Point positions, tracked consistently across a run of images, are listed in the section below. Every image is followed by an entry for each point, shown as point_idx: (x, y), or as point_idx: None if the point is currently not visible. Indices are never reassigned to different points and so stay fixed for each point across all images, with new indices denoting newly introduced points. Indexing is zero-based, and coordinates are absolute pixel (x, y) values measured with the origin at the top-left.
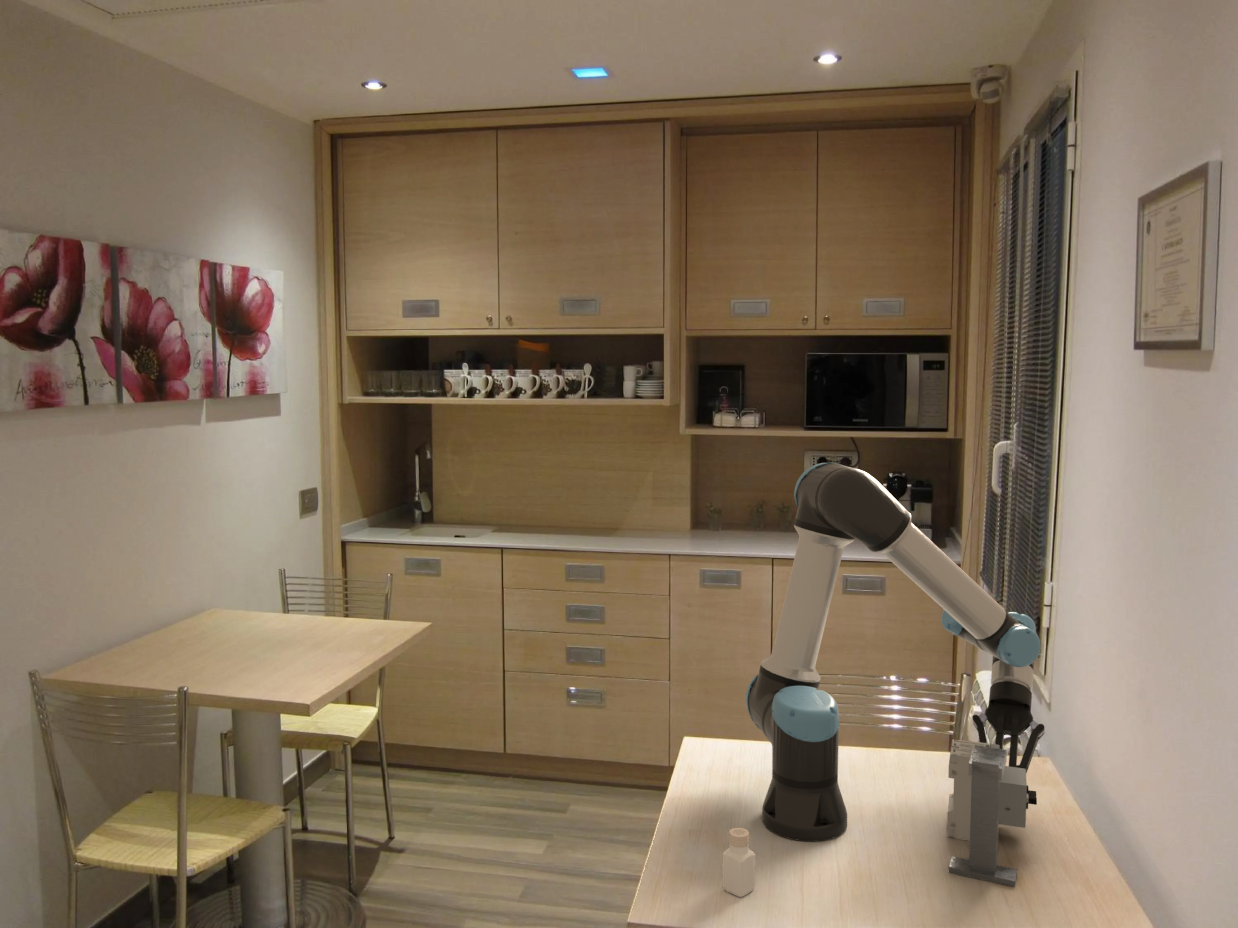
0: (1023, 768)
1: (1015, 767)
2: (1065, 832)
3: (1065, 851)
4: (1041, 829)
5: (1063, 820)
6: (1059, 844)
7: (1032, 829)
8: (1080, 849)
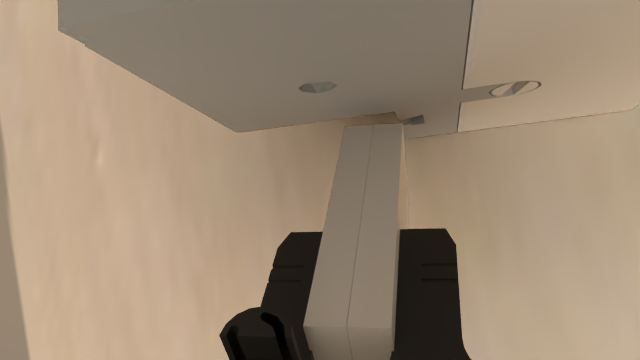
0: (77, 20)
1: (159, 7)
2: (101, 219)
3: None
4: (199, 201)
5: (106, 356)
6: (126, 80)
7: (238, 181)
8: (51, 76)
